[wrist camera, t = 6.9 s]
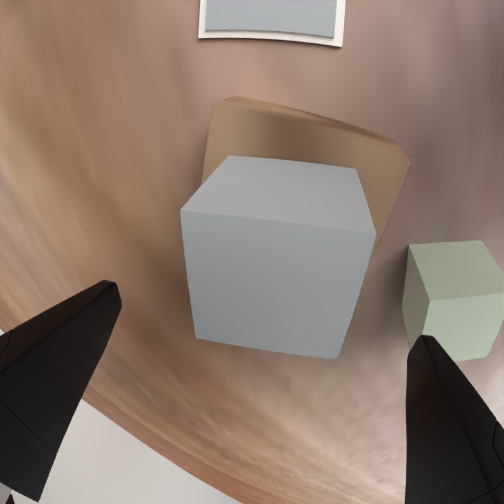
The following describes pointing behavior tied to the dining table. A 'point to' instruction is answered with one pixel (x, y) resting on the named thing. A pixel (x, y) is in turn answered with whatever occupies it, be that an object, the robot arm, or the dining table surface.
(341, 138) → the walnut base
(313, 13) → the tile
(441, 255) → the sage cube
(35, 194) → the dining table surface
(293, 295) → the grey cube
